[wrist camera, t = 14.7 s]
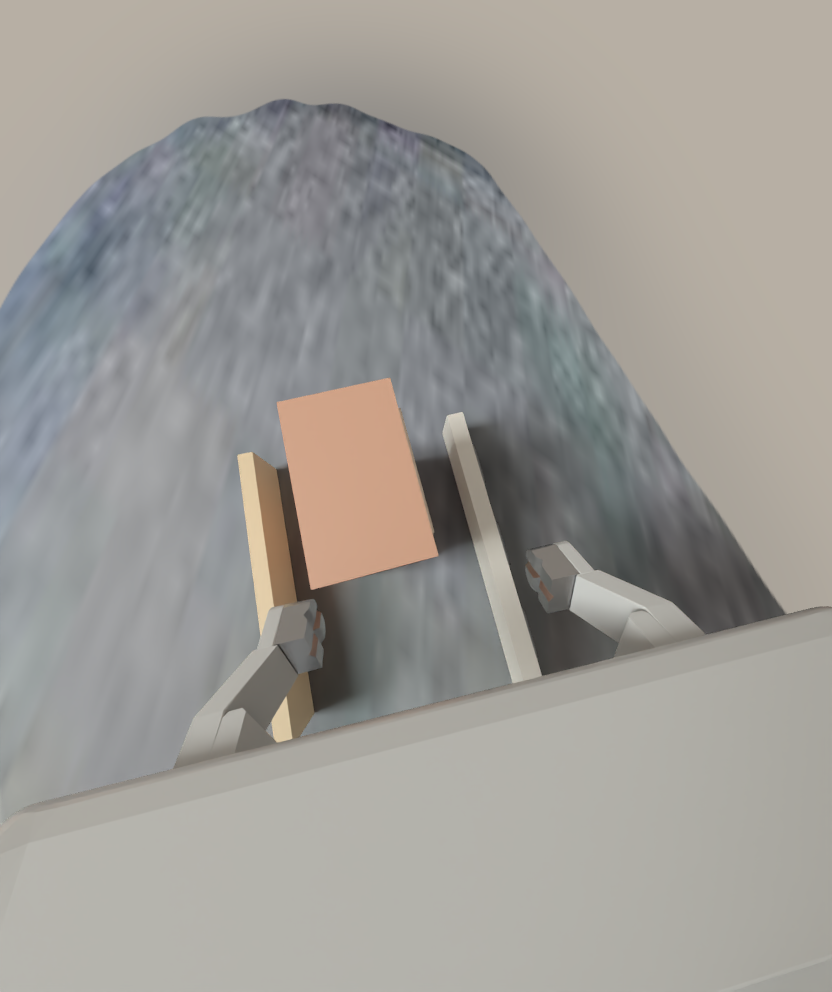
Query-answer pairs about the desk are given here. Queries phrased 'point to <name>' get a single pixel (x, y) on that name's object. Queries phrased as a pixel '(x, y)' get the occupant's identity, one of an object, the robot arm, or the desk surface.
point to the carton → (354, 483)
